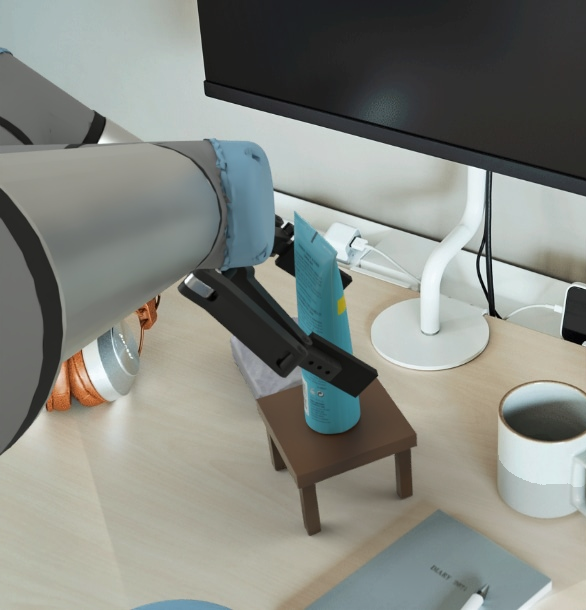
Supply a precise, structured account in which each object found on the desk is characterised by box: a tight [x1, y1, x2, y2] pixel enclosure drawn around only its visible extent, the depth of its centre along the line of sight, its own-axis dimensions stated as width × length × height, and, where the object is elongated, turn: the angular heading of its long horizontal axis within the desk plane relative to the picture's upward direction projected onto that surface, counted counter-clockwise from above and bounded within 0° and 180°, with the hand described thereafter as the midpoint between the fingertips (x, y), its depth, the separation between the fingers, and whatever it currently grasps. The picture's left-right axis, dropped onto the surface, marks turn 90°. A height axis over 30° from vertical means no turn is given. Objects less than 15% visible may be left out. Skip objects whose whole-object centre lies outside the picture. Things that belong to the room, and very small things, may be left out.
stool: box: [255, 377, 418, 537], centre depth 85 cm, size 11×11×8 cm
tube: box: [293, 210, 360, 434], centre depth 77 cm, size 7×5×19 cm, turn 39°
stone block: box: [229, 316, 303, 400], centre depth 98 cm, size 12×5×10 cm
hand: (353, 333), depth 78 cm, fingers open, 13 cm apart
